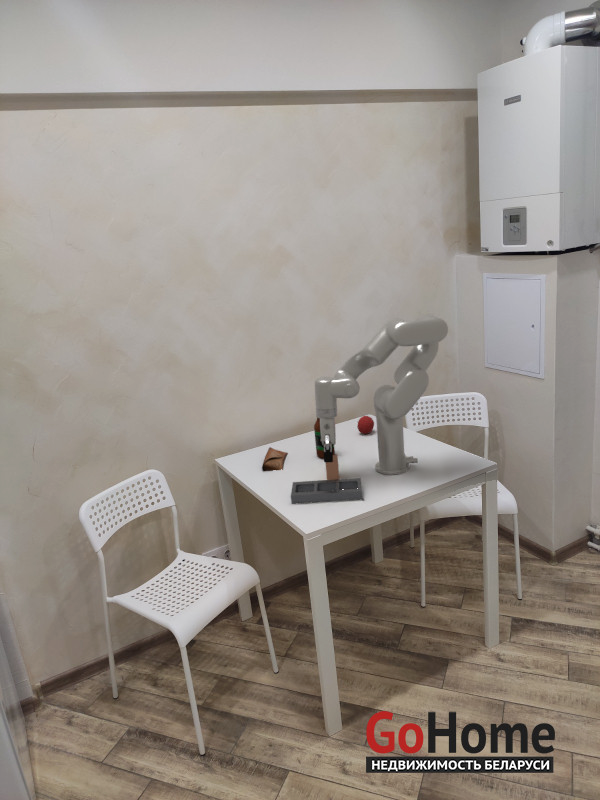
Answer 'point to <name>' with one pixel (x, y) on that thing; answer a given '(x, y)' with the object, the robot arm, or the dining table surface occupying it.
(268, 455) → the sunglasses case
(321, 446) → the bottle
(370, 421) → the red textured ball
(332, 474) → the peg
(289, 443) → the dining table surface
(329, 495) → the rack
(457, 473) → the dining table surface
